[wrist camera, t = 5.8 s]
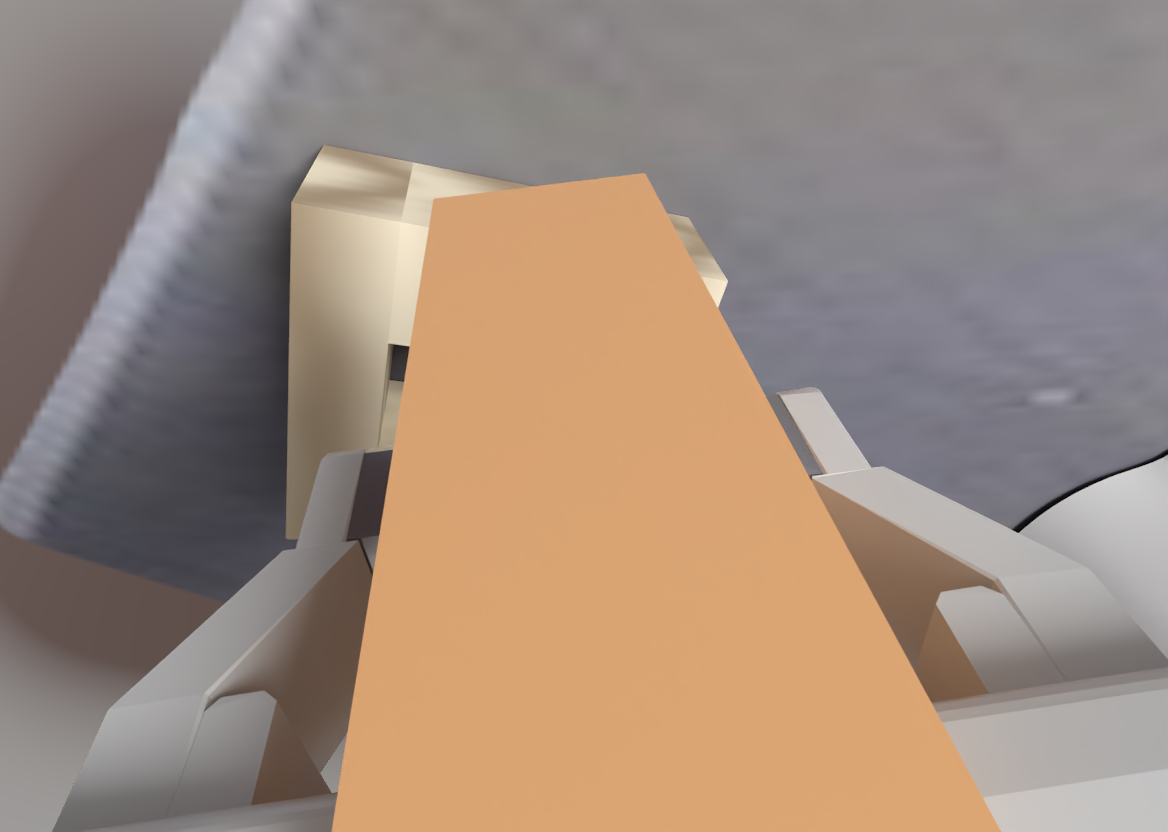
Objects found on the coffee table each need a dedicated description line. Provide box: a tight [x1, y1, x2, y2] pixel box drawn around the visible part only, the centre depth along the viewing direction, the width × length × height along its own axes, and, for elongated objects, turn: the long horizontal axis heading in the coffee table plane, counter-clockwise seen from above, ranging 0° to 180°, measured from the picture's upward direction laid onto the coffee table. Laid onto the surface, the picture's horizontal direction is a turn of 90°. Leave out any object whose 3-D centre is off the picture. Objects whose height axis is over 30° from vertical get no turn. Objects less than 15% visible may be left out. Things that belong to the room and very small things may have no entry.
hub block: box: [286, 145, 728, 540], centre depth 25 cm, size 12×12×5 cm
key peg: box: [332, 173, 1001, 832], centre depth 8 cm, size 3×5×9 cm, turn 5°
